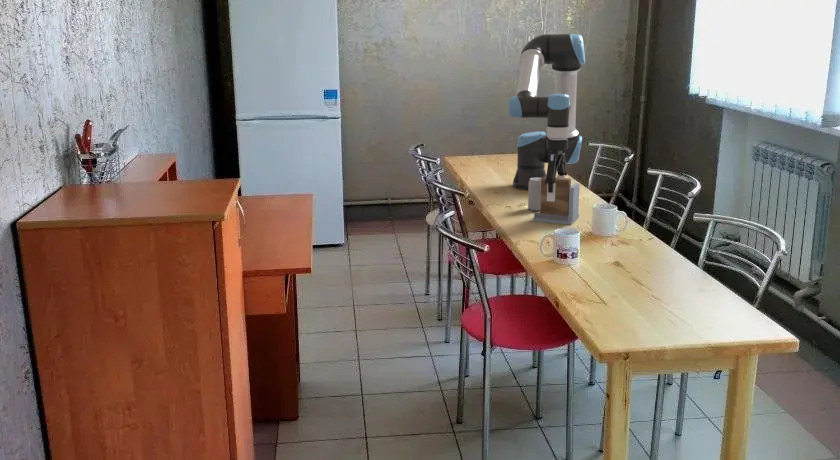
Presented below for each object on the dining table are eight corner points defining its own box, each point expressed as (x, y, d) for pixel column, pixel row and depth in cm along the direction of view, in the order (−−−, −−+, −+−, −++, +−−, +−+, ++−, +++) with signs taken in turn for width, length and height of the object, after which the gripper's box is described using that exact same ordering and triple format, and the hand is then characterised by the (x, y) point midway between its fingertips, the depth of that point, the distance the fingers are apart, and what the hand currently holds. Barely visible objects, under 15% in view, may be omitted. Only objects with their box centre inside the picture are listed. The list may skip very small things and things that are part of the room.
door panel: (542, 213, 290) (543, 176, 287) (569, 216, 287) (571, 178, 283) (540, 216, 287) (541, 178, 284) (567, 218, 283) (568, 180, 280)
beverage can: (544, 211, 297) (545, 180, 294) (527, 211, 299) (528, 180, 295) (545, 207, 303) (546, 177, 300) (528, 207, 305) (529, 176, 301)
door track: (541, 213, 295) (542, 179, 292) (579, 216, 289) (580, 182, 286) (532, 221, 284) (533, 185, 281) (571, 224, 279) (572, 188, 275)
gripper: (555, 132, 292) (554, 189, 297) (537, 143, 270) (536, 203, 276) (576, 133, 289) (573, 190, 294) (559, 144, 267) (557, 205, 273)
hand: (555, 197), depth 285 cm, fingers open, 13 cm apart
